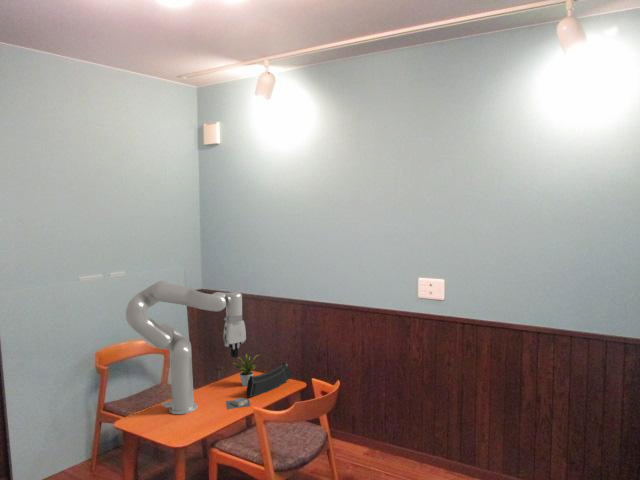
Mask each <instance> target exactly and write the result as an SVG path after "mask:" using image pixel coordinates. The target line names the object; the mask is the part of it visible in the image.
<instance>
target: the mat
mask: <svg viewBox="0 0 640 480" xmlns="http://www.w3.org/2000/svg"><path fill="white" fill-rule="evenodd" d="M245 399H246V400H247V404H244V405H242V406H236V405H234V404H233V403H232V400H225V405H226V410H234V409H239V408H240V409H241V408H248V407H252V406H251V402H250V399H249V397H248V398H245Z"/></svg>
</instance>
